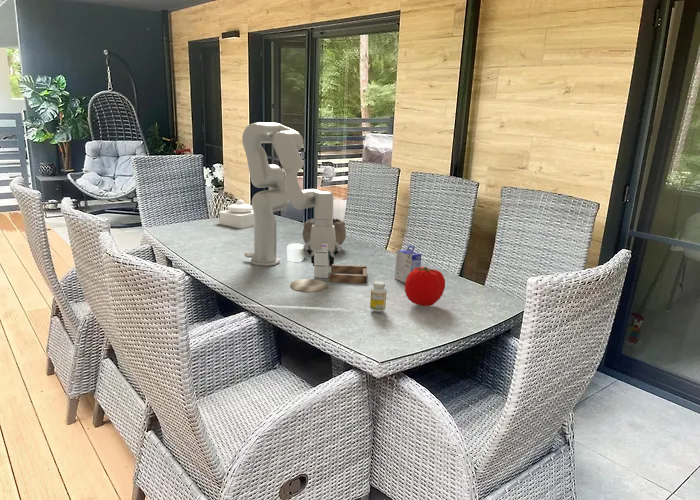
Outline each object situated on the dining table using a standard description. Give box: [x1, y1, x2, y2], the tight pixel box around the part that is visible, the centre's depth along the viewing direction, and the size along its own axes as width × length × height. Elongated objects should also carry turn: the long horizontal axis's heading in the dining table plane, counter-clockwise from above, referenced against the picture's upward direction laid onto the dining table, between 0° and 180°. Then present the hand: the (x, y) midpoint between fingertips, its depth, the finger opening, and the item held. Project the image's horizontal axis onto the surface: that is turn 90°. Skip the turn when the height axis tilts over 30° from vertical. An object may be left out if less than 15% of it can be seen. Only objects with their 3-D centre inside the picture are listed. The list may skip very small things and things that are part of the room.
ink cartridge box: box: [394, 244, 422, 284], centre depth 215 cm, size 10×6×14 cm, turn 34°
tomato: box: [404, 266, 446, 307], centre depth 190 cm, size 16×14×14 cm
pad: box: [290, 278, 328, 293], centre depth 205 cm, size 14×14×1 cm
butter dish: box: [218, 199, 254, 229], centre depth 305 cm, size 18×18×16 cm
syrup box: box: [313, 243, 332, 279], centre depth 217 cm, size 6×6×14 cm
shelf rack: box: [328, 264, 368, 284], centre depth 219 cm, size 15×14×3 cm
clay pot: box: [302, 217, 347, 249], centre depth 260 cm, size 21×21×15 cm
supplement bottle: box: [369, 280, 387, 312], centre depth 183 cm, size 5×5×10 cm
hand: (322, 264), depth 218 cm, fingers closed on syrup box, 6 cm apart
